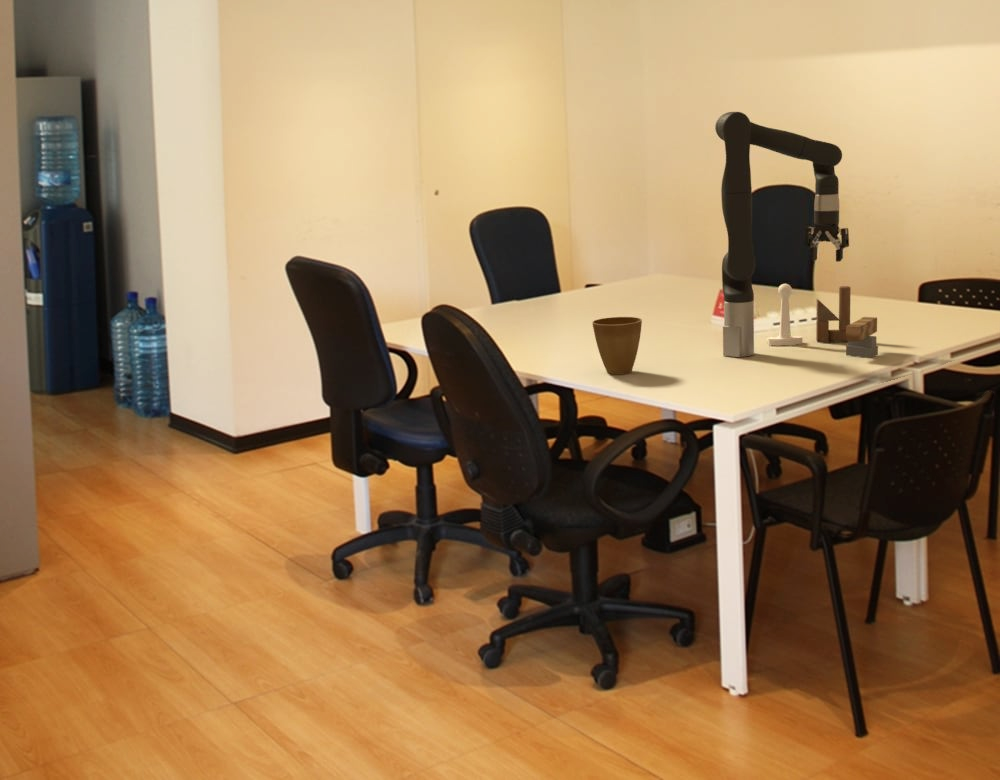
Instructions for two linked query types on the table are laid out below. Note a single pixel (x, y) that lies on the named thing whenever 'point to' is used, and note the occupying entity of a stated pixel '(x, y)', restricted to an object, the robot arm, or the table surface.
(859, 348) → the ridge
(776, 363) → the table surface
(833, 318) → the brown rod with wedge
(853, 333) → the walnut bar
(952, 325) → the table surface
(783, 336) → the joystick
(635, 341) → the plant pot
